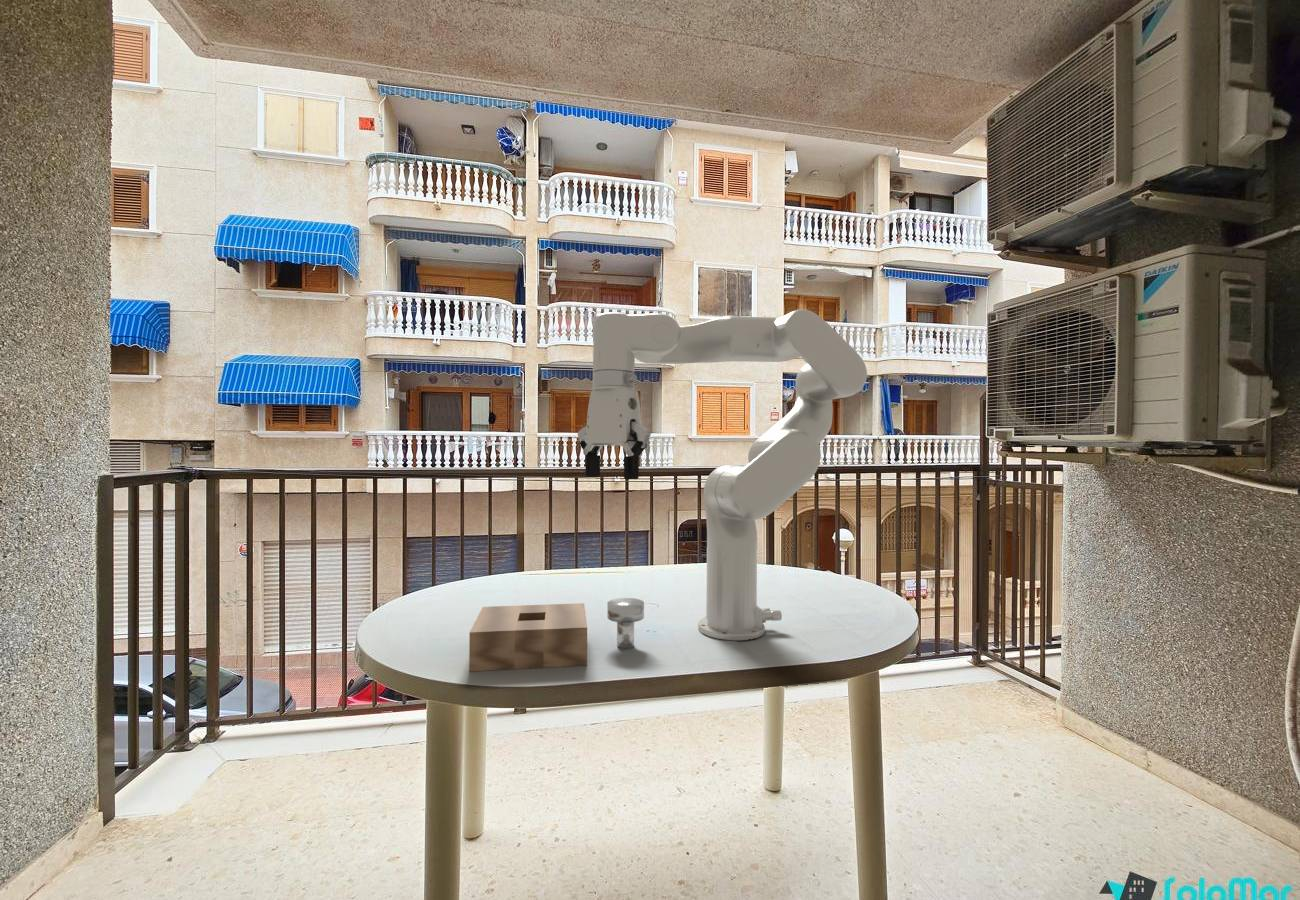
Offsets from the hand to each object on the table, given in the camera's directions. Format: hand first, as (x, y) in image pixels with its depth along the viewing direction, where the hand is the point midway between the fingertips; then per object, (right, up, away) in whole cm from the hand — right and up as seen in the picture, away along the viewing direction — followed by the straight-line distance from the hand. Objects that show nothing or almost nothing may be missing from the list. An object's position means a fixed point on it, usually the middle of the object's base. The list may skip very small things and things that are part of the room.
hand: (611, 477), depth 100 cm
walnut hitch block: (-13, -29, -7) cm, 32 cm away
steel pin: (+3, -29, -3) cm, 29 cm away
